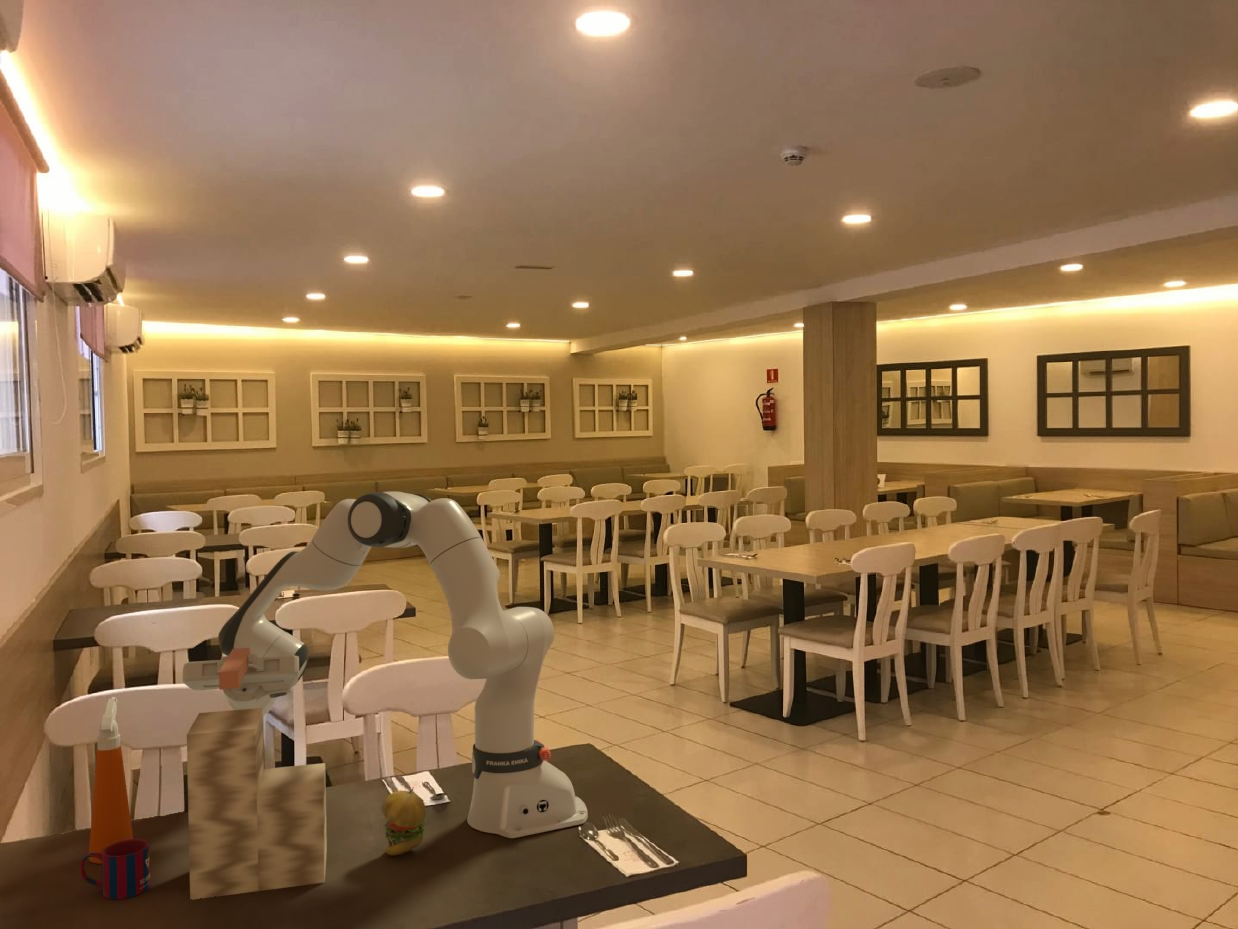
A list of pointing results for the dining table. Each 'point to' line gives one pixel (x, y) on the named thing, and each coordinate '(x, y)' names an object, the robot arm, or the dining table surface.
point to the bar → (234, 669)
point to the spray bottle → (109, 788)
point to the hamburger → (403, 821)
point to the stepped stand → (250, 811)
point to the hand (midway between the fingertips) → (238, 659)
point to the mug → (122, 869)
